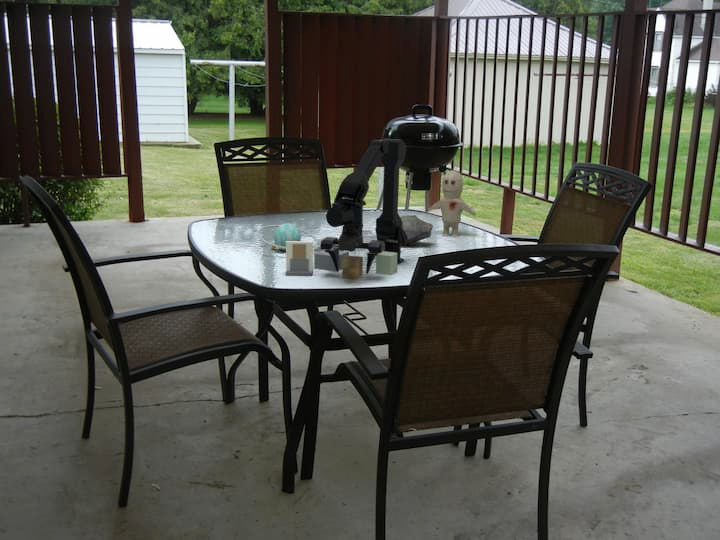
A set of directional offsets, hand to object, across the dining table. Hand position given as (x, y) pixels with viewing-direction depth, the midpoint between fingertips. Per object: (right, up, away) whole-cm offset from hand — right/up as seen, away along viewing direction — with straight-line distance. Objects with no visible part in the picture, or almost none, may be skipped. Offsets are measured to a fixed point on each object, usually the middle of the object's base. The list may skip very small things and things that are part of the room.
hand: (352, 272), depth 232 cm
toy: (+37, +14, +63) cm, 74 cm away
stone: (+20, +10, +47) cm, 52 cm away
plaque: (-16, 0, +3) cm, 17 cm away
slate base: (-7, +2, +12) cm, 14 cm away
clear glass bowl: (-23, +7, +34) cm, 41 cm away
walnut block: (0, -1, 0) cm, 1 cm away
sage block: (+11, 0, +6) cm, 12 cm away
